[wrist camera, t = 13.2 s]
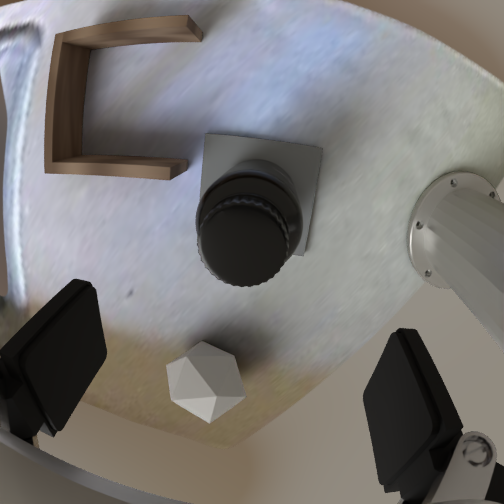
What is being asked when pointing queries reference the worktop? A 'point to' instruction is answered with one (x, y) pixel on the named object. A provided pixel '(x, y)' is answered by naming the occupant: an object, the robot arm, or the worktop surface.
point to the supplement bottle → (249, 223)
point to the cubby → (73, 94)
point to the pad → (281, 153)
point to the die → (205, 381)
